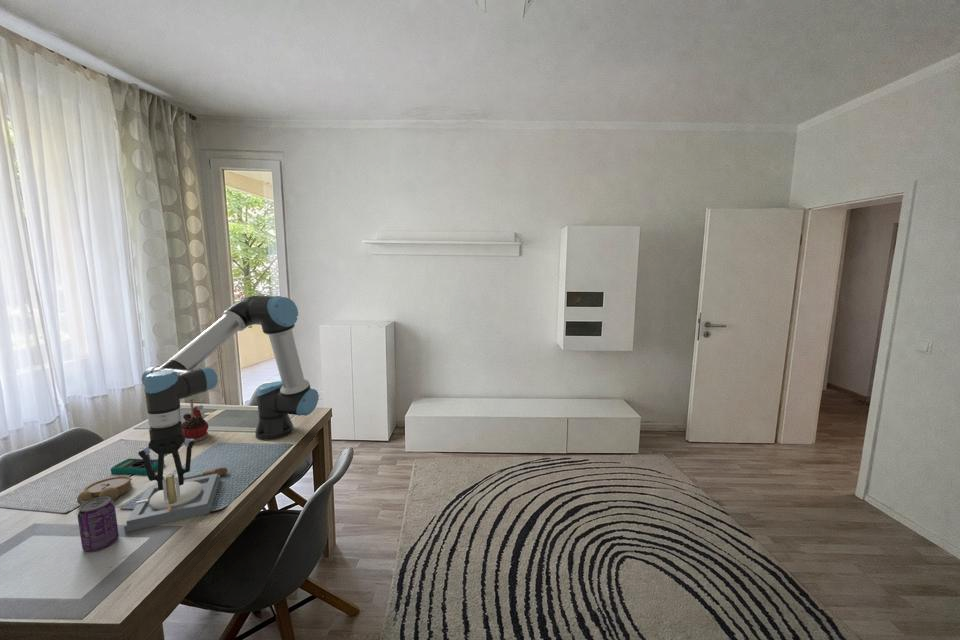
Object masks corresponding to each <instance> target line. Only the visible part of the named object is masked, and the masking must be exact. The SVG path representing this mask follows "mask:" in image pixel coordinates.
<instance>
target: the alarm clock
mask: <svg viewBox="0 0 960 640" xmlns="http://www.w3.org/2000/svg"><path fill="white" fill-rule="evenodd" d="M132 479H133V478H131V476H129V475H122V476H120V475H119V476H114V477H108V478H103V479H101V480H98V481H95V482H92V483H91V484H90V485H87V486H85V488H84V489H83V491H81V492H80V493H79V494H78V496H77V501H76V503H78V504H79V505H80V506H81V505H82V504H84V503H86V502H88V501H90V500H93V499H96V498H100V497H111V501H113V502H115V500H116V499H117V498H118V497H119V496H122V495H124V494H125V493H128V492H130V491H131V489H132V484H131V483H132Z"/></svg>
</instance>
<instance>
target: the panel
mask: <svg viewBox="0 0 960 640" xmlns="http://www.w3.org/2000/svg"><path fill="white" fill-rule="evenodd" d="M188 481H194V482H199V483H200V484H201V485H202V493H201V494H200V495H199V496H198V497H197V498H196V499H194V500H193V501H191V502H189V503H187V504H185V505H183V506H179V507H174V508H172V506H171V507H168V509H165V510H155V509H152V508H151V507H150V498H151V497H152V495H154V494H155V493H156V492H158V491H159V490H158V484H156V485H149V486H148V487H146V490H145V491H144V493H143V494H142V496H141V497H140V499H139V500H136V502H135V504H136V505H135V507H134V509H133V510H132V512H130V515H129V517H128V518H127V520H126V522H125V524H124V525H123V531H124V533H129V532H133V531H137V530H142V529H146V528H150V527H151V528H152V527H154V526H155V527H156V526H158V525H163V524H164V525H165V524H168V523H173V522H176V521H177V522H178V521H181V520H185V519H190V518H194V517H199V516H203V515H207V514H210V513H211V510H212V507H213V505H214V500H215V498H216V494H217V492H216V491H218V489H217V488H219V486H220V485H219V484H220V482H221V476H220V475H218V473H217V474H212V475H207V476H201V477H196V478H191V479H186V480H184V482H188ZM175 484H176V483H175Z"/></svg>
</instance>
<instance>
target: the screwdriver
mask: <svg viewBox="0 0 960 640" xmlns="http://www.w3.org/2000/svg"><path fill="white" fill-rule="evenodd" d="M217 473H218V475H220V477H221V476H225V475H226V474H227V473H228V469H227V467H218V468H215V469H214V468H213V469H209V470H208V469H207V470H204V471H203V472H202V473H201V474H195V475H190V476H185V477H184V480H186V479H191V478H196V477H201V476H207V475H212V474H217Z"/></svg>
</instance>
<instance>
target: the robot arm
mask: <svg viewBox="0 0 960 640" xmlns="http://www.w3.org/2000/svg"><path fill="white" fill-rule="evenodd" d="M298 310H299V309H298V307H297V305H296V303H295V302H294V300H292V299H291V298H289V297H284V296H281V295H251V296H248V297H244V298H242V299H240V300H239V301H236V302H235V303H234V304H232V305H231V306H229V307H227V309H225V310H223V312H222V313H221V317H220V318H218V319H217V320H216V321H215V322H214V323H212V325H210V326H209V327H208V328H206V329H205V330H204V331H203V332H201V333H200V334H199V335H198V336H197V337H195V338H194V339H192V340H191V341H190V342H189V343H188V344H186V345H185V346H184V347H183V348H182V349H181V350H179V351H178V352H177V353H175V354H174V355H173V356H172V357H171V358H169V359H168V360H166V361H165V362H164V363H163V364H161V365H157V366H156V365H155V366H152V367H148V368H146V369H145V371H144V372H143V373H142V375H141V382H142V385H143V386H144V389H143V390H144V395H145V403H146V409H147V410H146V411H147V414H146V415H147V422H148V425H149V427H148V432H149V443H148V445H147V446H145V447H142V448H140V449H139V451H138V452H137V454H138V456H139V457H140V459H143V461H144V465H145V468H146V472H147V475H146V476H147V478H148V481H149V482H153V481H156V482H157V485H158V490H159V491H160V490H163V492H164V501H167V500H168V494H167V485H166V476H167V475H165V476H164V466H165V465H164V464H165V455H168V454H169V455H170V454H171V455H172V457H173V461H174V464H175V465H174V466H175V471H176V472H177V473H175V474H174V479H175V483H176V494H177V498H178V497H180V485H183V484H184V475H185V474H186V473H189V472H191V463H192V462H191V461H192V450H193V449H192V448H193V447H194V445H195V442H196V441H195V439H194V438H191V439H187V438H185V436H184V435H183V432H182V424H183V422H182V421H181V420H182V412H181V409H182V408H181V400H182V399H183V400H184V399H186V398H189V397H192V396H195V395H198V394H202V393H206V392H208V391H210V390H212V389H214V388H216V386H217V385H218V382H219V378H218V374H217V372H216V370H214V369H213V368H211V367H208V366H207V367H201V368H200V367H199V366H200V365H201V364H202V363H203V362H204V361H206V359H208V358H209V357H210V356H212V354H213V353H215V352H216V351H217V350H218V349H220V347H221V346H222V345H224V344H225V343H226V342H227V341H229V339H231V338H232V337H233V336H234V335H236V333H238V332H242V331H244V330H246V328H248V327H250V326H253V325H254V326H255V325H259V326H261V329H262V332H263V333H262V334H265V335H267V336H268V339H269V341H270V345H271V348H272V349H271V350H272V352H273V355H274V359H275V363H276V366H277V370H278V372H279V373H278V375H279V376H280V380H278V381H272V382H268V383H265V384H261V385H260V386H258V387H257V389H256V390H257V391H256V399H257V400H256V402H257V403H256V404H257V413H258V421H257V425H256V428H255V431H254V434H255V438H256V439H257V440H261V441H272V440H277V439H282V438H285V437H288V436H289V435H291V434H292V433H293V432H292V431H294V424H293V422H292V420H291V419H292V418H290V415H292V416H293V415H294V416H297V417H298V416H299V417H300V416H309V415H310V414H312V413H313V412H314V411H315V409H316V408H317V405H318V403H319V392H318V390H316V389H315V388H311V385H310V382H309V380H307V379H305V377H304V372H303V368H302V366H301V362H300V357H299V354H298V349H297V345H296V342H295V338H294V337H295V336H294V334H293V329H295V324H296V323H297V321H298V316H299V311H298ZM197 367H199V368H197ZM196 368H197V369H196ZM291 432H292V433H291ZM288 434H289V435H288ZM284 436H285V437H284ZM183 444H184V446H185V447H186V454H185V467H183V465H182V464H183V463H182V460H181V457H180V453H179V450H180V448H181V446H183ZM151 451H153V452H154V453H155V454H157V455H158V457H157V460H158V470H157V473H155V472H154V469H153V466H152V462H151V460H152V459H151V456H150V452H151Z"/></svg>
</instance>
